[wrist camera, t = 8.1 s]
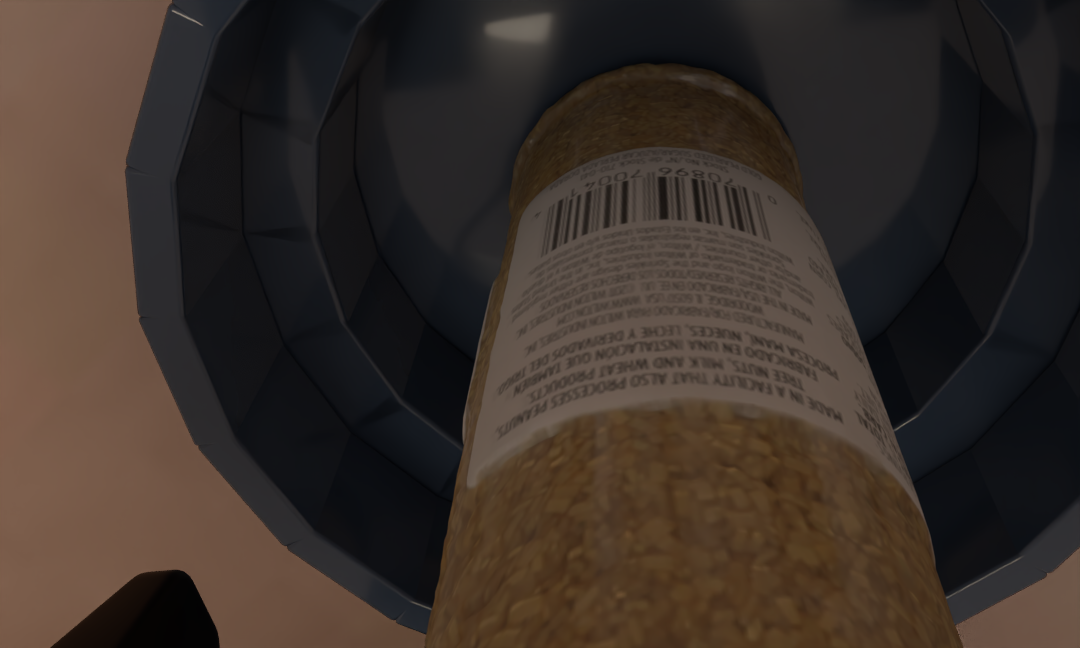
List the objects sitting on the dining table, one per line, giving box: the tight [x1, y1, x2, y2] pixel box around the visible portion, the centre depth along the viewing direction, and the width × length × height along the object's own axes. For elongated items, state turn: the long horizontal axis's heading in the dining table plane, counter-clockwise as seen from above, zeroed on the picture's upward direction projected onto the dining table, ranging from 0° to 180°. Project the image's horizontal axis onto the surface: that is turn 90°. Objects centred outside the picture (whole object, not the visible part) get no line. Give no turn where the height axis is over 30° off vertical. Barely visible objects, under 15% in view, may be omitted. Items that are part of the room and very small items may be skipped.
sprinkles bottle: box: [425, 63, 963, 648], centre depth 10 cm, size 5×5×13 cm
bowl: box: [125, 0, 1080, 634], centre depth 14 cm, size 13×13×5 cm
